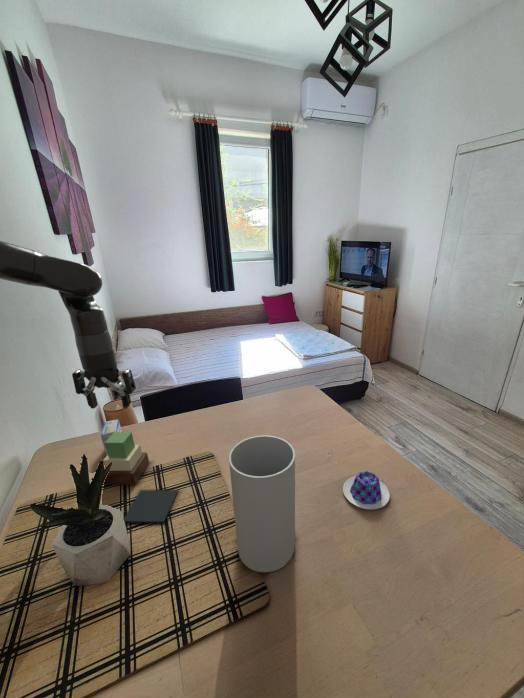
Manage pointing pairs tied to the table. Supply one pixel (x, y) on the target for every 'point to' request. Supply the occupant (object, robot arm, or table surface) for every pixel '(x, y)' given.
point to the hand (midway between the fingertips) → (110, 406)
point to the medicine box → (109, 430)
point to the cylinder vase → (264, 501)
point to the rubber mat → (151, 507)
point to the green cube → (119, 445)
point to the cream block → (124, 460)
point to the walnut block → (128, 473)
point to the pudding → (366, 491)
